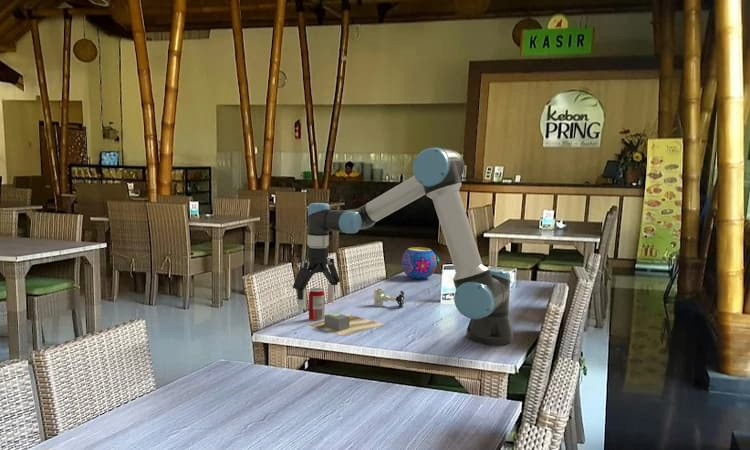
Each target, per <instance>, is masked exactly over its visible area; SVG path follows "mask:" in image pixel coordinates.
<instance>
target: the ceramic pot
mask: <svg viewBox="0 0 750 450" xmlns="http://www.w3.org/2000/svg"><path fill="white" fill-rule="evenodd" d="M439 264H440V258H439V256H438V255H436V254H435V252H434V251H433V250H432V249H431V248H428V247H409V248H407V249H406V250H405V251H404V253H403V255H402V258H401V267H402V270H403V272H404V273H405V275H406V276H408V277H409V278H412V279H415V280H423V279H424V280H425V279H427V278H430V277H431V276H432V275H433V274H434V272H435V270H436V268H437V266H438V265H439Z"/></svg>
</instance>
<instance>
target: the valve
mask: <svg viewBox="0 0 750 450" xmlns="http://www.w3.org/2000/svg"><path fill="white" fill-rule="evenodd" d="M373 290H374V295H373V300H374V301H373V305H374V307H383V306H384V302H385V303H387V302H389V301H391V302H394V301H396V302H397V304H398V307H399V308H404V304H405V301H404V300H405V296H404V295H405V291H403V290H400V293H399V295H398V296H396V297H395V296H393V295H391V296H390V295H389V294H386V293H385V292H384V288H374V289H373ZM384 293H385V294H384Z"/></svg>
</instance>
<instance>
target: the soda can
mask: <svg viewBox="0 0 750 450" xmlns="http://www.w3.org/2000/svg"><path fill="white" fill-rule="evenodd" d="M325 298H326V297H325V289H324V288H320V287H315V288H314V287H312V288H310V289H309V291H308V320H310V321H317V322H319V321H324V320H325Z"/></svg>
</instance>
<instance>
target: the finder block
mask: <svg viewBox="0 0 750 450" xmlns="http://www.w3.org/2000/svg"><path fill="white" fill-rule="evenodd" d="M345 315H346V314H341V313H338V312H332V313H329V314H324V320H325V323H324V327H327V328H330V329H333V330H337V331H341V330H345V329H348V328H349V323H350V317H349V316H345Z"/></svg>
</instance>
